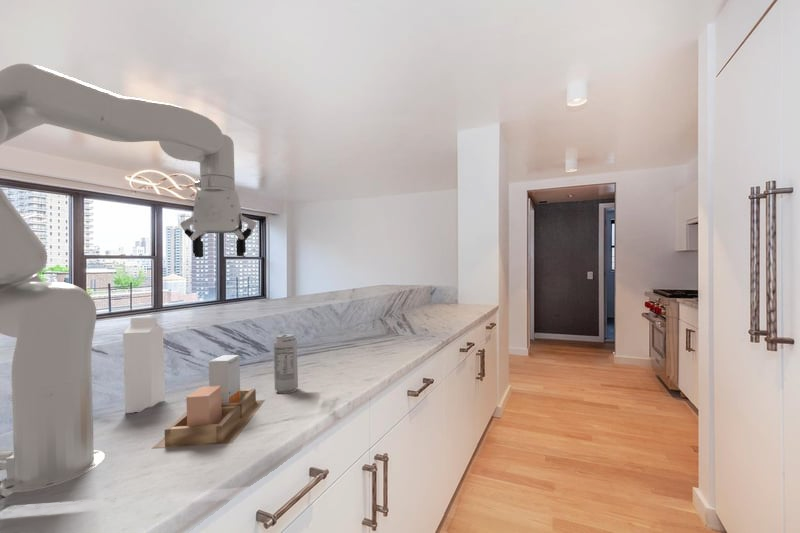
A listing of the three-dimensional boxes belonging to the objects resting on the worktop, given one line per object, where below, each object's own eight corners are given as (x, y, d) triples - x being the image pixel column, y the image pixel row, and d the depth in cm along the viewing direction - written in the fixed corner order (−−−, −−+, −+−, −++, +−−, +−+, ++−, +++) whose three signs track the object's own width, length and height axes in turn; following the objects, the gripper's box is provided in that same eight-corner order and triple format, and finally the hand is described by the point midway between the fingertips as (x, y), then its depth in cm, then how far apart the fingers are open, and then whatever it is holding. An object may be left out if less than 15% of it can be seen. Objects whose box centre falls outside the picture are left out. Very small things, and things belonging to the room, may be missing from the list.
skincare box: (228, 416, 80) (227, 361, 80) (209, 416, 80) (207, 361, 80) (241, 405, 86) (240, 354, 86) (223, 405, 86) (222, 354, 86)
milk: (151, 412, 87) (149, 318, 87) (124, 413, 87) (122, 319, 87) (165, 402, 93) (163, 315, 93) (140, 404, 93) (137, 316, 93)
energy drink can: (301, 387, 103) (299, 333, 103) (292, 394, 97) (291, 337, 97) (280, 387, 103) (279, 333, 103) (270, 394, 97) (269, 337, 97)
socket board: (151, 454, 66) (151, 431, 66) (204, 408, 88) (204, 391, 88) (232, 449, 68) (232, 426, 68) (265, 404, 90) (264, 387, 90)
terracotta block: (187, 439, 69) (186, 397, 69) (201, 426, 75) (200, 387, 75) (209, 438, 70) (208, 395, 70) (221, 424, 76) (220, 385, 76)
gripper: (172, 183, 85) (174, 257, 85) (249, 182, 87) (251, 255, 87) (188, 189, 93) (189, 258, 93) (259, 189, 94) (260, 256, 94)
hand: (219, 256), depth 90 cm, fingers open, 9 cm apart
